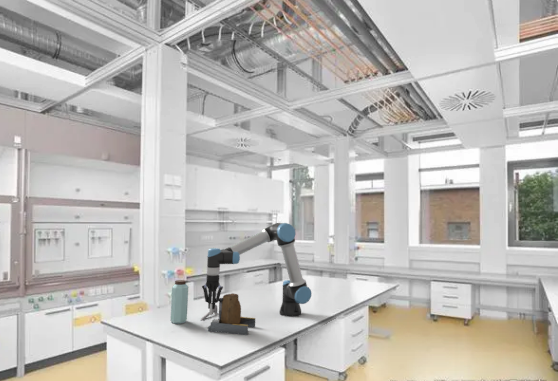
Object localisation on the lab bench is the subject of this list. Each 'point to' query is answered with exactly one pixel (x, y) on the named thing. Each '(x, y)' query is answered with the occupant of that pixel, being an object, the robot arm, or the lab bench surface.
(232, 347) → the lab bench surface
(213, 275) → the robot arm
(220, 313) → the bar
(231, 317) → the brown stone
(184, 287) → the water bottle
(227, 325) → the bay
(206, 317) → the caliper
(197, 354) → the lab bench surface
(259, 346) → the lab bench surface
